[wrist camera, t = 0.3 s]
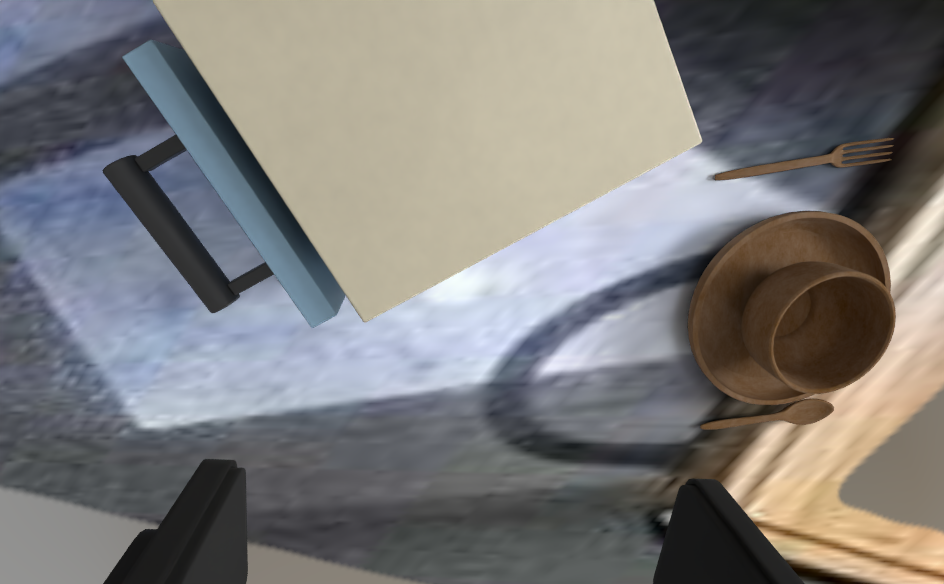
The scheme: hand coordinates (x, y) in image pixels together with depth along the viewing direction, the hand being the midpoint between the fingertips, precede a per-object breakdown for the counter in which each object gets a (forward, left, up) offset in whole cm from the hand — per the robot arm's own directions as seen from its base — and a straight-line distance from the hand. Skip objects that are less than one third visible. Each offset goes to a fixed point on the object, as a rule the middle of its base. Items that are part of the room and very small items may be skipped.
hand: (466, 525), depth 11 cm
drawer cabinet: (-8, +5, -19) cm, 21 cm away
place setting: (+13, +21, -19) cm, 31 cm away
